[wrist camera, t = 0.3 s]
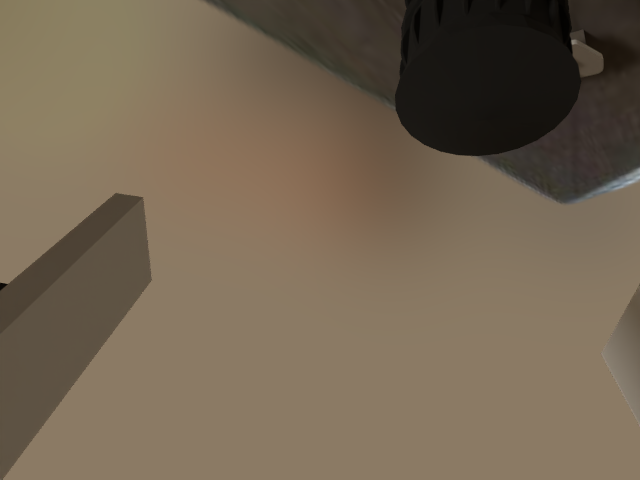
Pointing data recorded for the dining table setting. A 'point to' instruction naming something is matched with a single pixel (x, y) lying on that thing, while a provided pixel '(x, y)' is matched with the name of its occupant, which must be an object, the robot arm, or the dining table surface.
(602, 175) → the dining table surface
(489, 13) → the ribbed tower figurine
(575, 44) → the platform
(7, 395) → the robot arm
